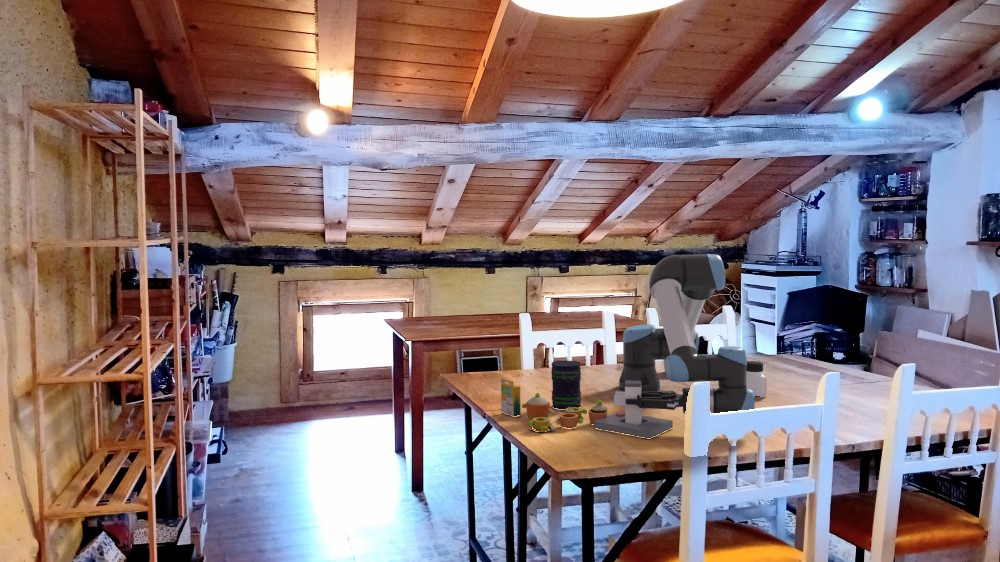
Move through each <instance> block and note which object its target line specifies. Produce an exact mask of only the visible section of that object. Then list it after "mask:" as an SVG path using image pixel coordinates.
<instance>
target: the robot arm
mask: <svg viewBox="0 0 1000 562" xmlns="http://www.w3.org/2000/svg"><path fill="white" fill-rule="evenodd" d="M648 284H649V285H648V286H649V291H650V295H651V297H652V298H653V299H654V300H655V301H656V304H657V310H658V313H659V317H660V321H661V325H662V328H660V327H658V328H656V326H655V325H654V324H648V323H647V324H638V325H637V324H636V325H633V326H630V327H627V328H625V329H624V330H623V336H622V349H623V350H622V352H623V355H622V357H623V359H622V360H623V361H622V362H623V367H622V371H621V373H620V378H619V379H618V389H620V390H622V391H615V392H614V393H615V394H614V396H613V405H614V406H624V407H625V406H638V407H639V408H642V409H650V410H651V409H653V410H668V411H669V410H670V411H675V409H677V408H682V413H683V414H685V411H686V402H687V396H688V392H689V390H690V388H691V387H683V388H682V394H681V393H676V392H675V391H674V390H671V391H670V390H666V391H664V390H660V389H661V381H660V378H659V376H658V373H657V369H656V361H662V360H663V361H664V360H666V363H665V368H666V372H665V374H666V377H667V379H668V381H670V382H672V383H673V382H674V383H676V382H677V383H690V382H692V383H693V382H696V383H697V382H718V385H717V386H718V388H717V387H716V388H714V387H709V388H710V411H711V413H720V412H728V411H738V410H749V409H755V408H756V401H755V399H756V397H754V392H753V390H751V389H747V386H746V369H747V352H746V350H745V348H743V347H742V346H741V347H740V346H733V345H732V346H731V345H730V346H728V345H726V346H720V347H719V348H718V351H717V353H714V354H699V353H698V350H699V345H700V338H699V334H698V333H699V332H698V331H697V329H696V326H697V323H698V320H699V318H700V315H701V313H702V310H703V308H704V305H705V303H706V301H707V300H708V299H711V298H712V297H713V294H714V292H715V291H722V290H723V289H725V286H726V270H725V265H724V261H723V260H722V257H721V256H720V255H718V254H716V253H715V254H711V253H710V254H709V253H703V254H702V253H700V254H699V253H698V254H671V255H667V256H666V257H664V258H662V259H661V260H660V261H658V263H656V264H655V266H654V268H653V269H652V271H651V273H650V276H649V283H648ZM665 368H664V369H665ZM626 380H632V381H641V396H642V397H640V396H639V395H637V396H625V382H626ZM685 415H686V414H685Z"/></svg>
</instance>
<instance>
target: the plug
mask: <svg viewBox="0 0 1000 562" xmlns="http://www.w3.org/2000/svg"><path fill="white" fill-rule="evenodd" d="M624 392H625V396H637V395H639V396H640V397H642V396H641V381H632V380H626V382H625V390H624ZM642 409H643V408H639V407H638V406H624V412H625V423H629V424H634V425H639V424H641V422H642V415H643V414H642V413H643V412H642V411H643V410H642Z"/></svg>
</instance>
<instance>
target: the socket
mask: <svg viewBox="0 0 1000 562" xmlns="http://www.w3.org/2000/svg"><path fill="white" fill-rule="evenodd" d="M673 421H674V420H671V419H666V418H659V417H655V416H654V417H653V416H647V415H643V414H642V422H641V424H639V425H634V424H629V423H625V411H617V412H615V413H612V414H610V415H607V417H605V418H601V419H599V420H596V421H594V423H595V426H594V429H595V428H598V429H602V430H608V431H614V432H619V433H624V434H630V435H634V436H639V437H645V438H651V437H653V436H656V435H658V434H660V433H662V432H664V431H666V430H668V429H670V428H673V425H674V424H673V423H674V422H673ZM673 429H674V428H673Z"/></svg>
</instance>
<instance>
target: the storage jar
mask: <svg viewBox="0 0 1000 562" xmlns="http://www.w3.org/2000/svg"><path fill="white" fill-rule="evenodd" d="M581 369H582V368H581V362H580V361H576V360H557V361H552V362H551V372H550V373H551V381H552V391H551V401H552V402H551V403H552V405H551V407H552V406H553V407H554V408H558V409H566V408H568V407H570V408H572V407H576V408H579V407H581V408H582V405H581V404H582V391H581V379H582V376H581V375H582V371H581Z"/></svg>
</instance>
